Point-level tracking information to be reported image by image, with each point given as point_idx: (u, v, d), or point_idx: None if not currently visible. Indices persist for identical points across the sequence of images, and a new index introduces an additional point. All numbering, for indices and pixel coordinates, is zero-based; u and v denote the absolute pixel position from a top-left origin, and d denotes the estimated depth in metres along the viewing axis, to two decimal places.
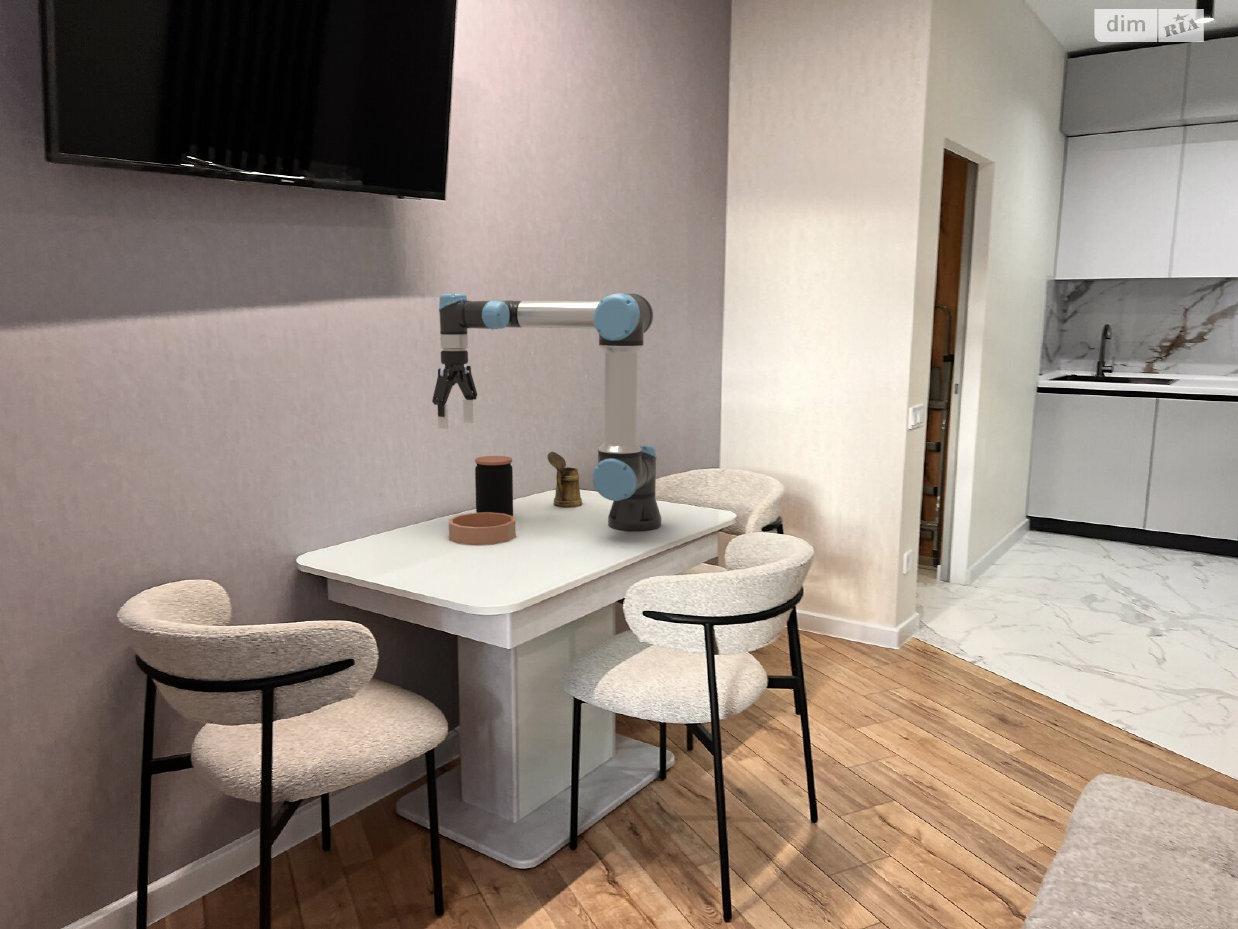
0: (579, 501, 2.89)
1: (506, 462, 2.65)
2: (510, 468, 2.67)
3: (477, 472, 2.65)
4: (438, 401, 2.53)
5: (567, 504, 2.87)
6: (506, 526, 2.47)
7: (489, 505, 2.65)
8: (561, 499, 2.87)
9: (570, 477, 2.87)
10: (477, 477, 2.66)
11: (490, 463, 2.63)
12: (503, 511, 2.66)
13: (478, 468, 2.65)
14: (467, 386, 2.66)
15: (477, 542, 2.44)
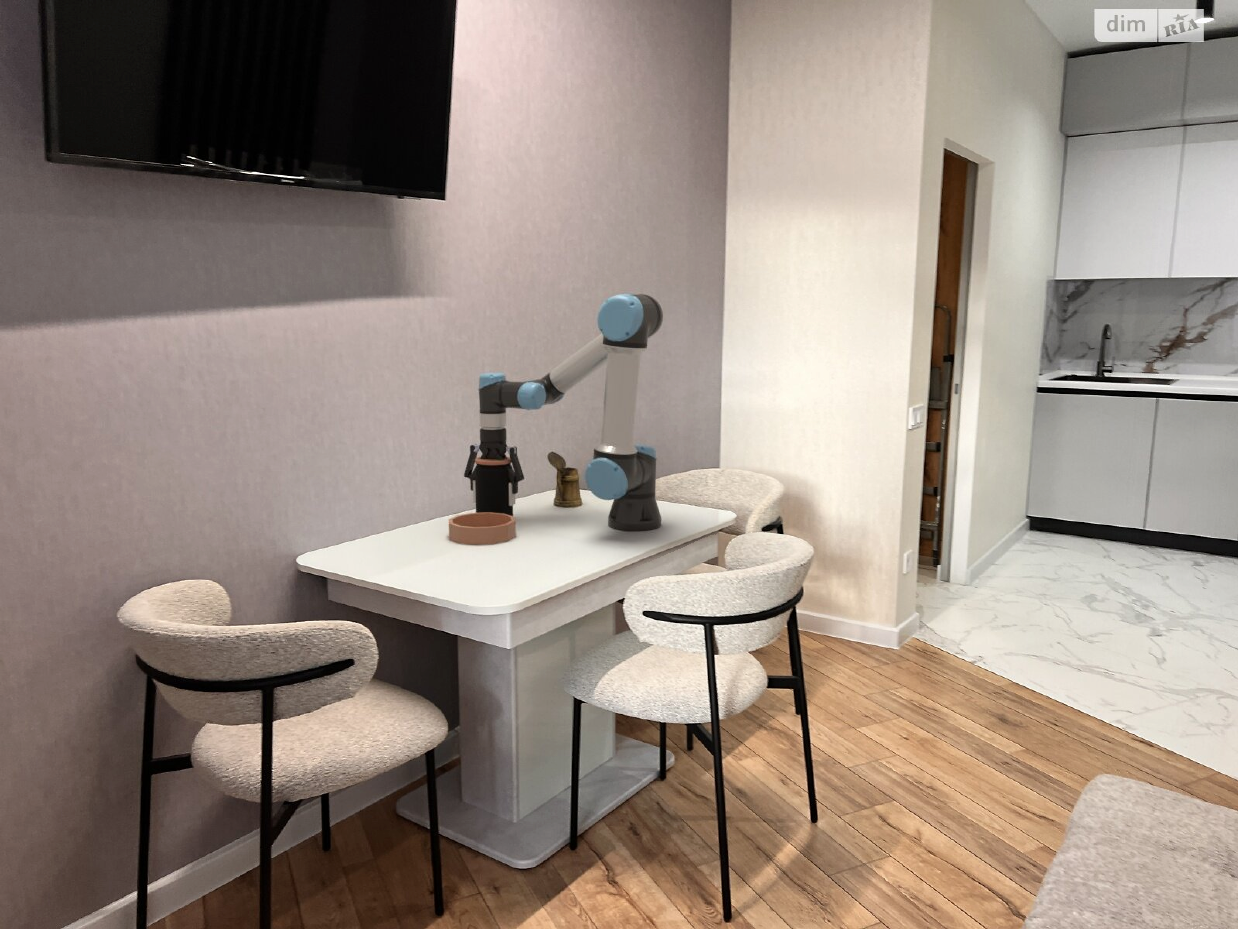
0: (579, 501, 2.89)
1: (506, 462, 2.65)
2: (510, 468, 2.67)
3: (477, 472, 2.65)
4: None
5: (567, 504, 2.87)
6: (506, 526, 2.47)
7: (489, 505, 2.65)
8: (561, 499, 2.87)
9: (570, 477, 2.87)
10: (477, 477, 2.66)
11: (490, 463, 2.63)
12: (503, 511, 2.66)
13: (478, 468, 2.65)
14: None
15: (477, 542, 2.44)
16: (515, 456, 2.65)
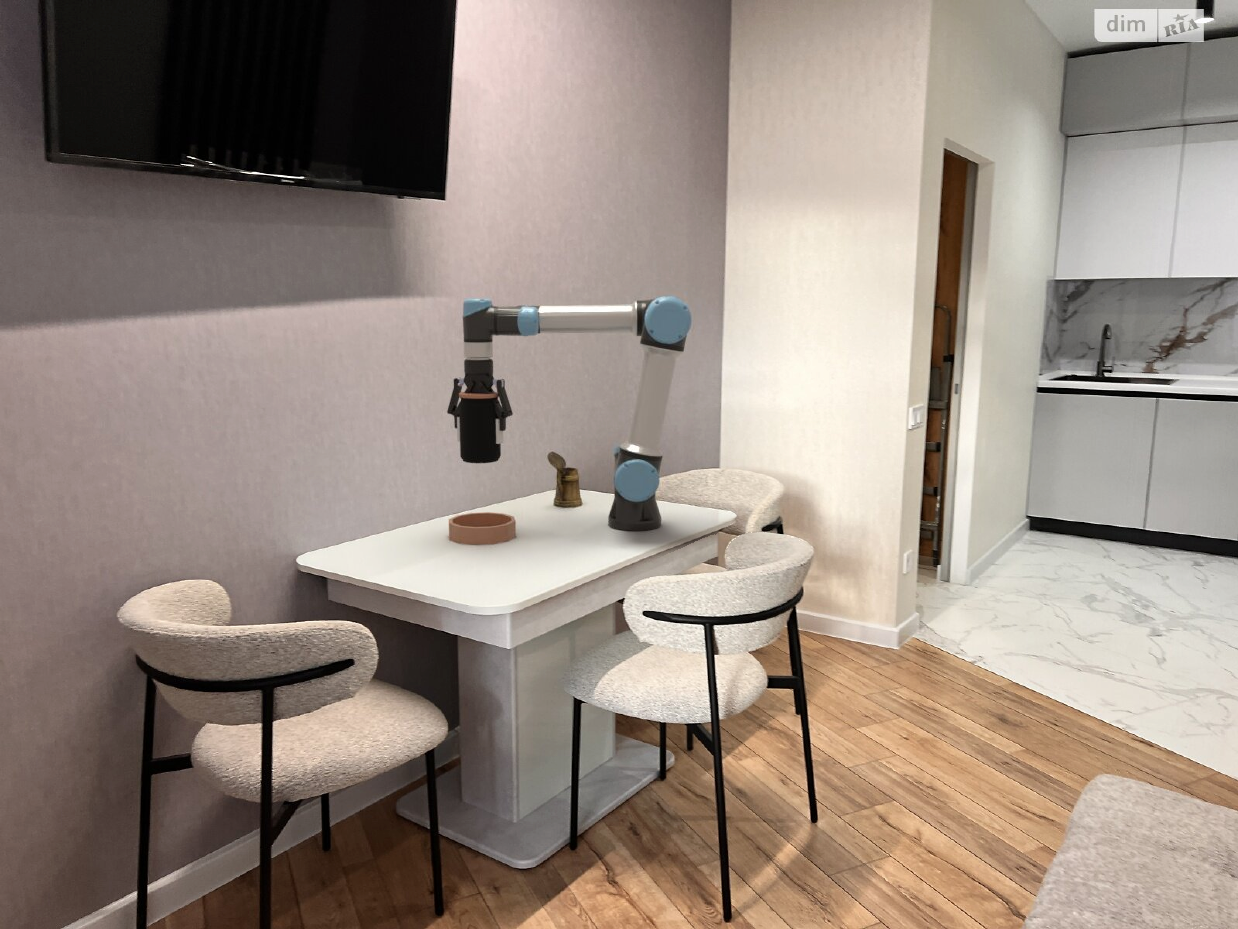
0: (579, 501, 2.89)
1: (493, 396, 2.43)
2: (497, 403, 2.45)
3: (461, 407, 2.43)
4: None
5: (567, 504, 2.87)
6: (506, 526, 2.47)
7: (474, 443, 2.43)
8: (561, 499, 2.87)
9: (570, 477, 2.87)
10: (461, 412, 2.44)
11: (475, 396, 2.41)
12: (489, 449, 2.44)
13: (462, 402, 2.43)
14: None
15: (477, 542, 2.44)
16: (503, 389, 2.43)
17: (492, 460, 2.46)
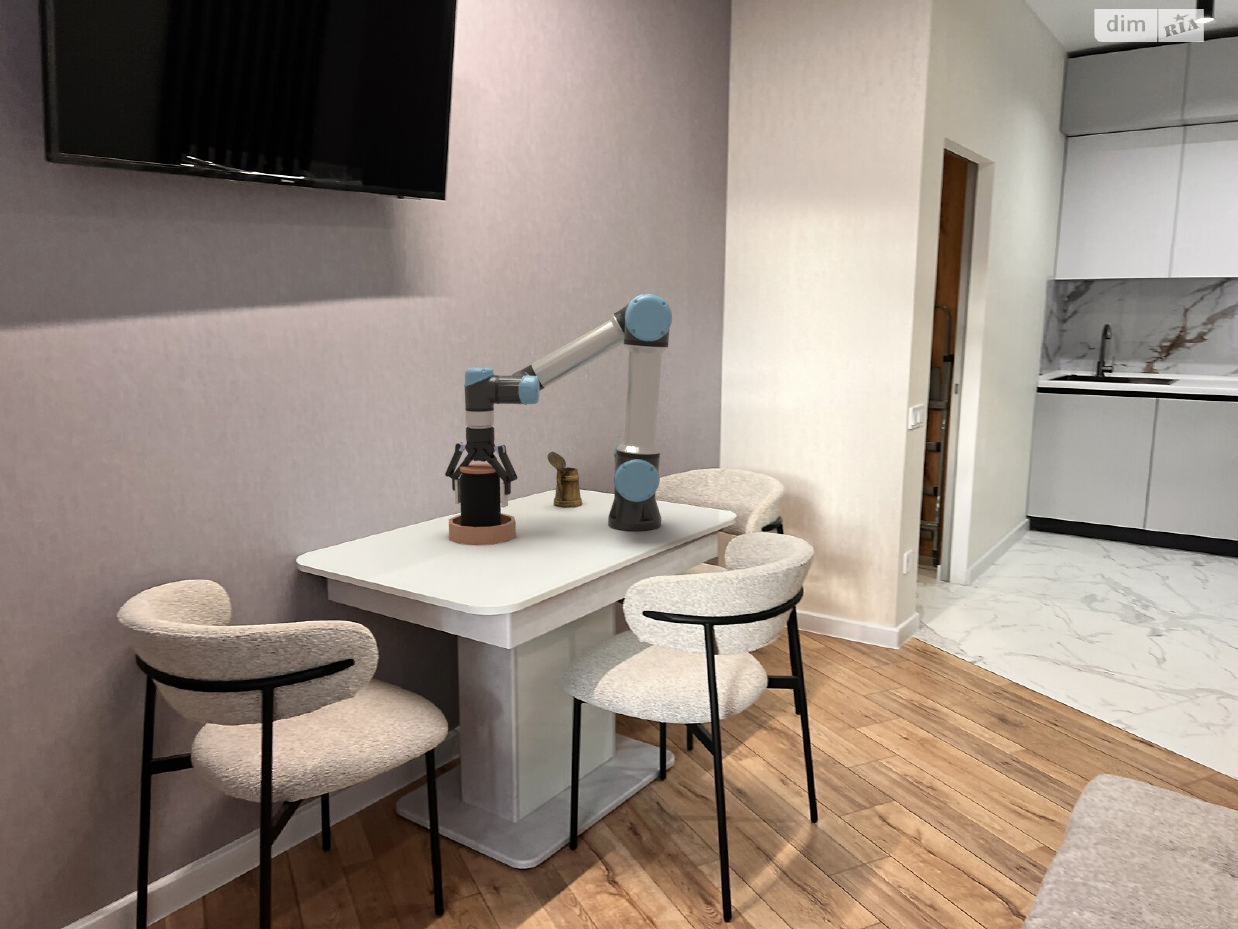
0: (579, 501, 2.89)
1: (493, 470, 2.46)
2: (497, 477, 2.48)
3: (462, 481, 2.47)
4: None
5: (567, 504, 2.87)
6: (506, 526, 2.47)
7: (474, 517, 2.46)
8: (561, 499, 2.87)
9: (570, 477, 2.87)
10: (462, 486, 2.47)
11: (475, 472, 2.44)
12: (490, 523, 2.48)
13: (463, 477, 2.47)
14: (494, 467, 2.47)
15: (477, 542, 2.44)
16: (505, 455, 2.46)
17: None
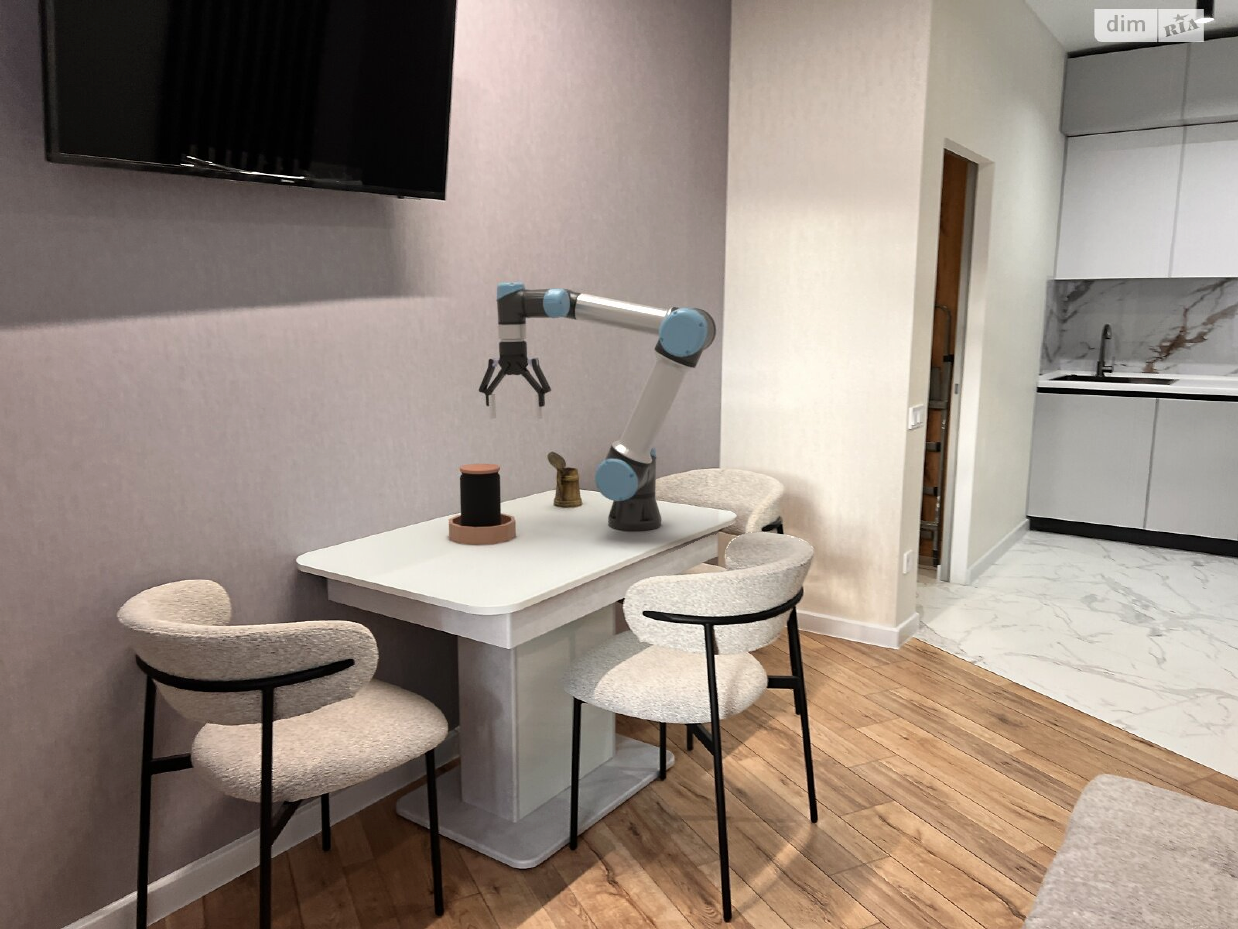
0: (579, 501, 2.89)
1: (493, 471, 2.46)
2: (497, 477, 2.48)
3: (462, 481, 2.47)
4: None
5: (567, 504, 2.87)
6: (506, 526, 2.47)
7: (474, 517, 2.46)
8: (561, 499, 2.87)
9: (570, 477, 2.87)
10: (462, 487, 2.47)
11: (475, 472, 2.44)
12: (490, 523, 2.48)
13: (463, 477, 2.47)
14: (528, 380, 2.53)
15: (477, 542, 2.44)
16: (538, 367, 2.52)
17: None
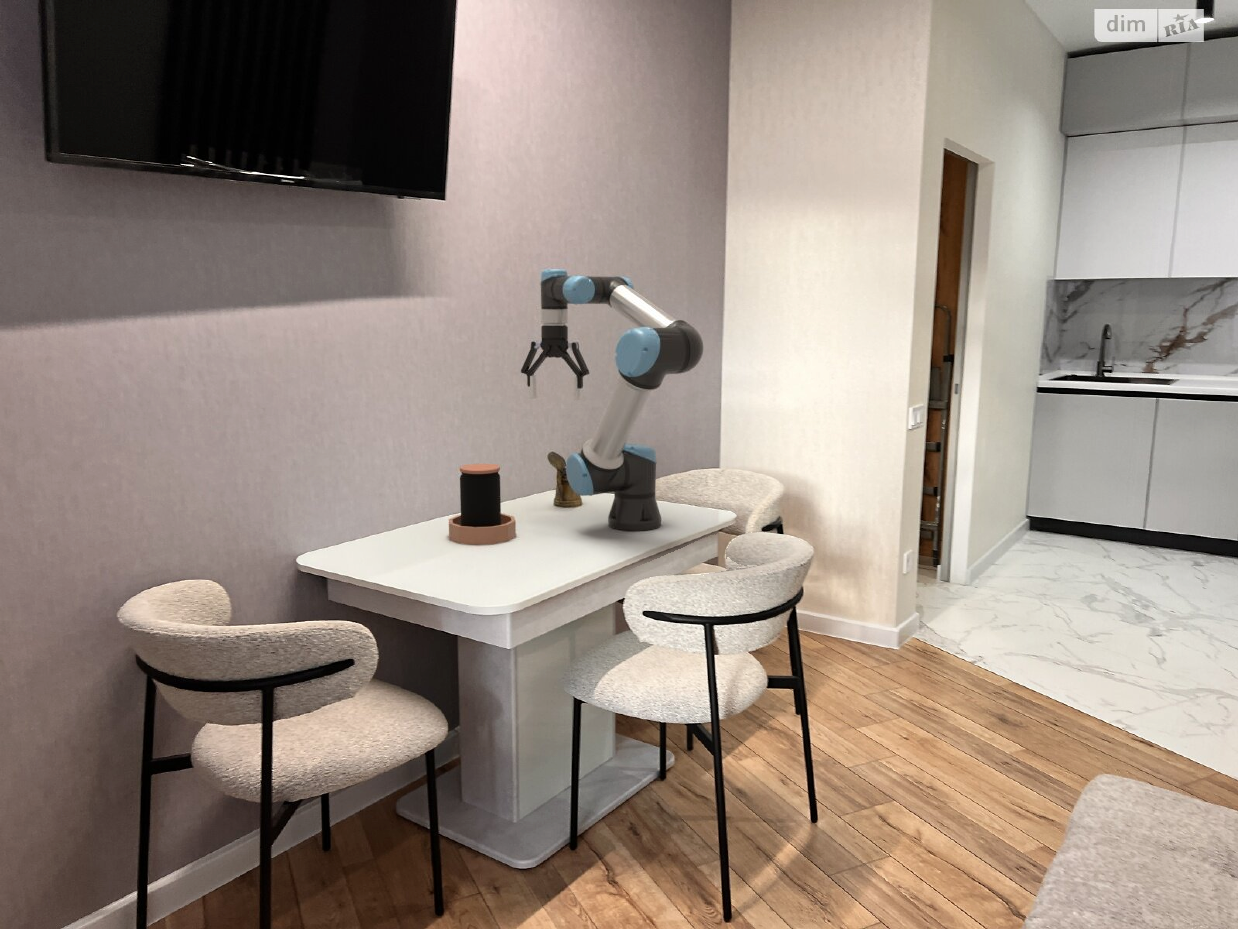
0: (579, 501, 2.89)
1: (493, 471, 2.46)
2: (497, 477, 2.48)
3: (462, 481, 2.47)
4: None
5: (567, 504, 2.87)
6: (506, 526, 2.47)
7: (474, 517, 2.46)
8: (561, 499, 2.87)
9: None
10: (462, 487, 2.47)
11: (475, 472, 2.44)
12: (490, 523, 2.48)
13: (463, 477, 2.47)
14: (568, 362, 2.65)
15: (477, 542, 2.44)
16: (578, 351, 2.65)
17: None
